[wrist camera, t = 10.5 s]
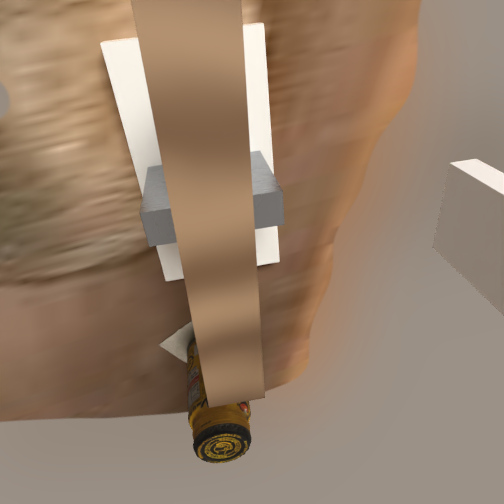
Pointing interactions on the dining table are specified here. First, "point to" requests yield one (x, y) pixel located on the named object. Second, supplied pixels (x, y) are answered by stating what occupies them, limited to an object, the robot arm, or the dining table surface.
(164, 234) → the steel ridge
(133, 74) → the white board
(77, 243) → the dining table surface
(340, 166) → the dining table surface
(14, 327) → the dining table surface
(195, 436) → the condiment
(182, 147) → the walnut batten
